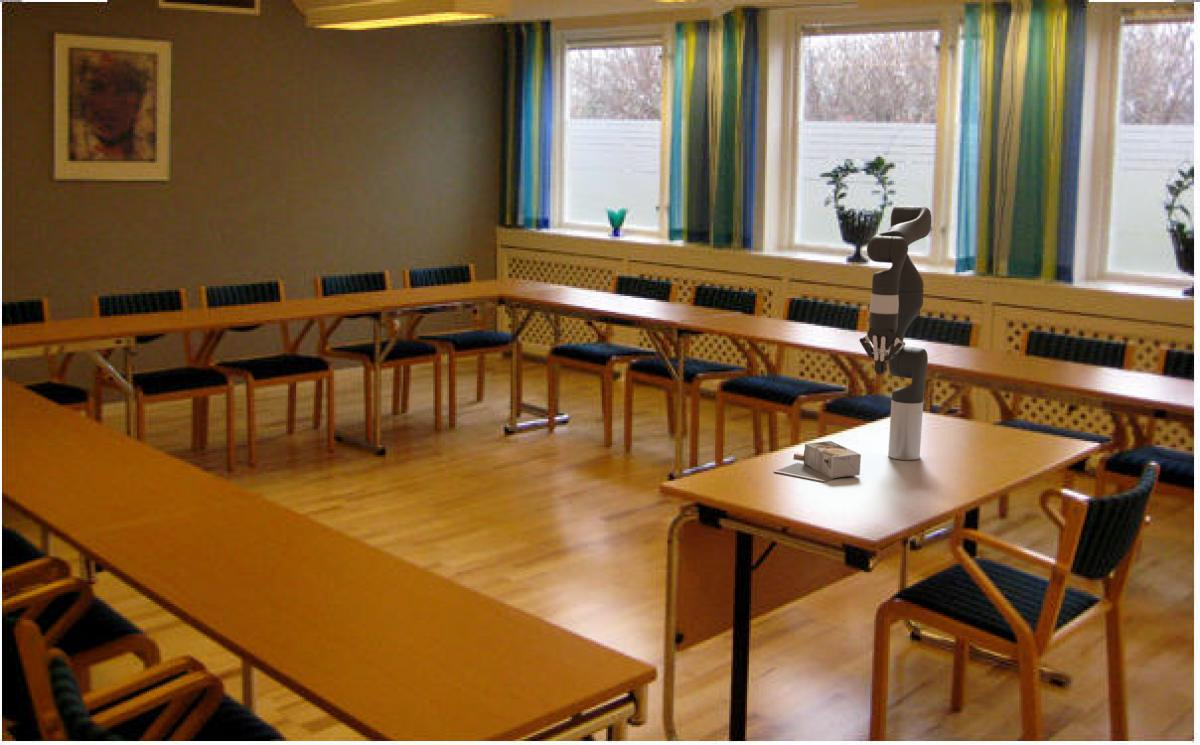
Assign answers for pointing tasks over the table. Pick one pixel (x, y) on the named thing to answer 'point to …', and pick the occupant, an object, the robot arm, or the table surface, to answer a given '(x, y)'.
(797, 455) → the walnut turner
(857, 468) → the coffee box
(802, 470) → the mat
